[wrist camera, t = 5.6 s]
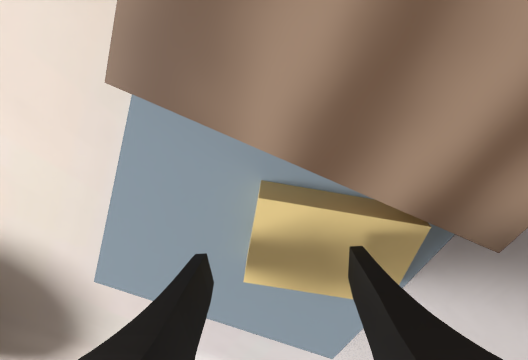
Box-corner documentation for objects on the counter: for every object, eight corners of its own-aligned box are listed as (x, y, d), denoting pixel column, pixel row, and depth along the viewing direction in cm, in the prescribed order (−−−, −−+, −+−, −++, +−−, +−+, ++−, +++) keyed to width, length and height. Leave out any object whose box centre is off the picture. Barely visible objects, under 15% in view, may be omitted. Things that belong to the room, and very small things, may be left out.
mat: (456, 225, 16) (460, 228, 16) (331, 354, 23) (332, 359, 22) (137, 84, 14) (133, 86, 13) (97, 277, 20) (94, 281, 20)
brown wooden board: (670, 3, 11) (796, -12, 8) (462, 219, 16) (499, 253, 13) (218, -306, 8) (190, -478, 6) (139, 75, 13) (104, 82, 11)
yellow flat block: (413, 206, 15) (431, 227, 14) (376, 279, 18) (387, 304, 16) (261, 180, 15) (258, 197, 13) (246, 258, 18) (243, 282, 16)
